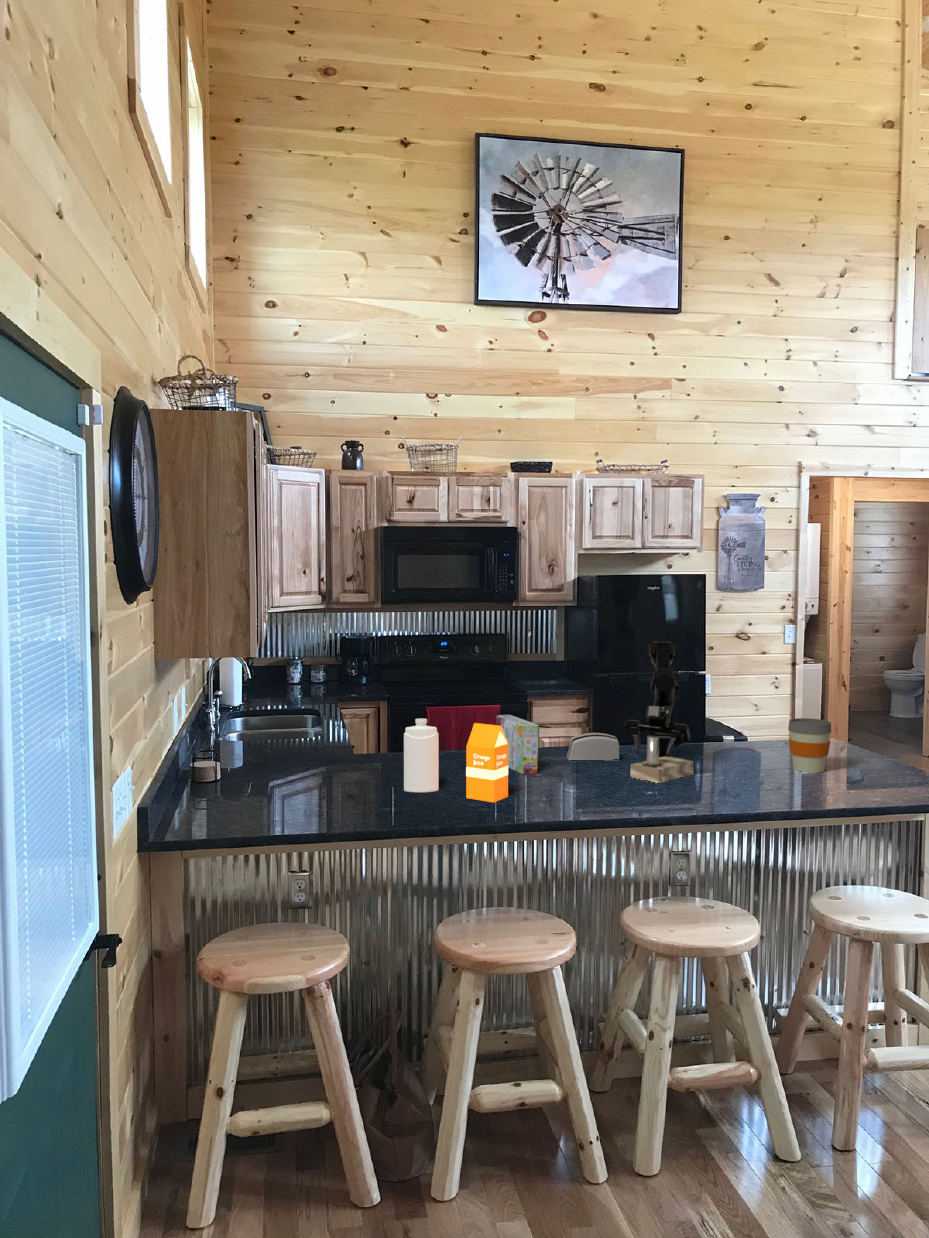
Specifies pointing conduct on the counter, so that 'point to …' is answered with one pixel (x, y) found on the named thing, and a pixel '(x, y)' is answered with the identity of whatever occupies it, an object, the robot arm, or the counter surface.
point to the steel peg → (653, 751)
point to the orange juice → (487, 763)
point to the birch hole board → (663, 770)
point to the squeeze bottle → (421, 758)
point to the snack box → (520, 743)
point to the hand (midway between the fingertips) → (651, 754)
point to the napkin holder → (593, 747)
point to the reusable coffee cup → (809, 743)
